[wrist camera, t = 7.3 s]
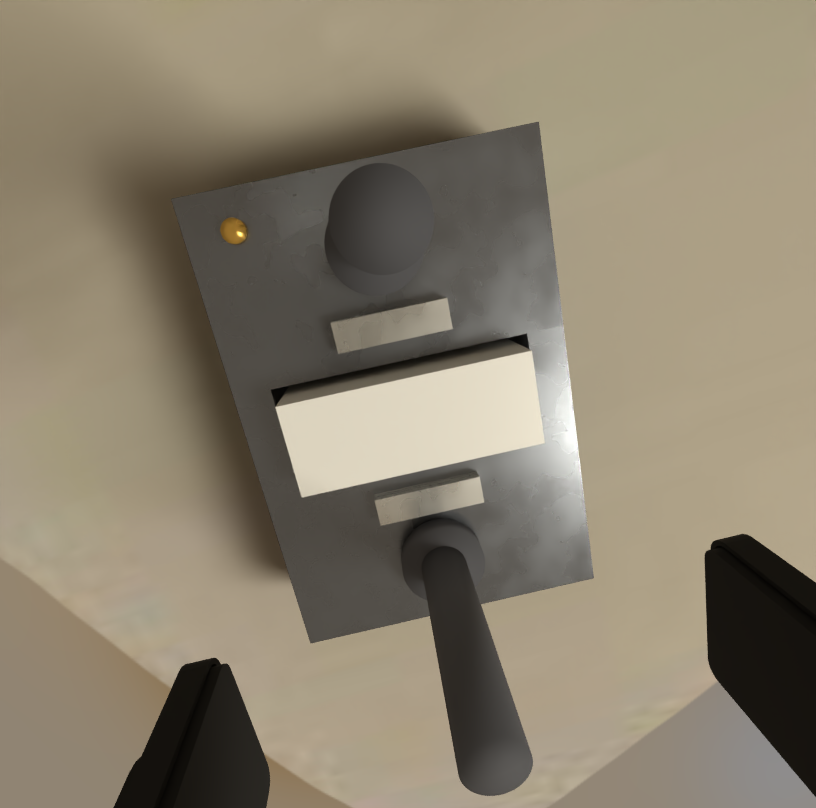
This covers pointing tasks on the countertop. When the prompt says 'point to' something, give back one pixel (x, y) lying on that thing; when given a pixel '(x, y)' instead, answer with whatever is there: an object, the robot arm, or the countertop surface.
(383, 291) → the dark grey upright post
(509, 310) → the gray switch control box
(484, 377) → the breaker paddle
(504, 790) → the black toggle lever
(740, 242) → the countertop surface
